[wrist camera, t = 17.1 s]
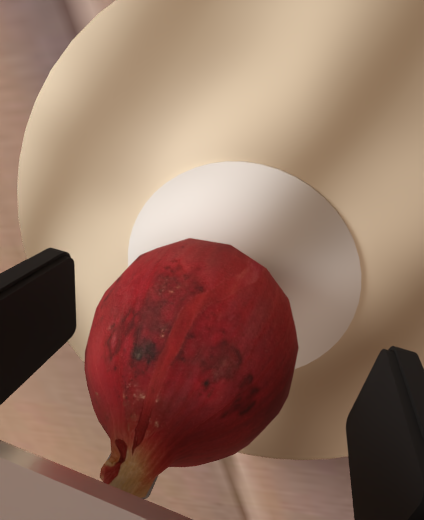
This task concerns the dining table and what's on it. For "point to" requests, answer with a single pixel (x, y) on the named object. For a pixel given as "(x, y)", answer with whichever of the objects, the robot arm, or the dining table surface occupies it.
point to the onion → (187, 359)
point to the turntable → (247, 173)
